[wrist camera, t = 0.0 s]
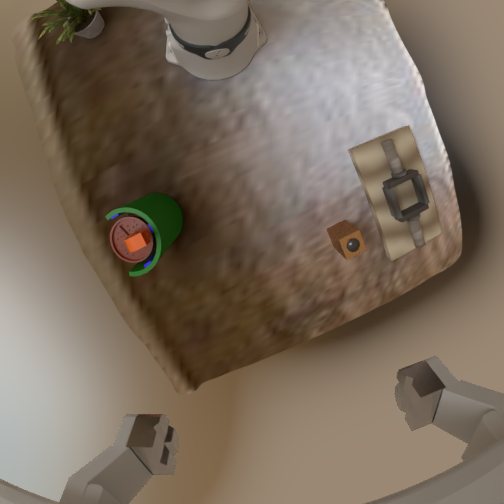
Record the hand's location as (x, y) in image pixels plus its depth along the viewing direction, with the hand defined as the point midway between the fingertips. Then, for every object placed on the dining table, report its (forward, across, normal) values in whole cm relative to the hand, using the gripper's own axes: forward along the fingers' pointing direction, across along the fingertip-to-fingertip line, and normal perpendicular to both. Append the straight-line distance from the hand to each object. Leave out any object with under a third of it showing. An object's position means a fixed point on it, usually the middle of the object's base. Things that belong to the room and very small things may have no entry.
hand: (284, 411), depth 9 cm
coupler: (+48, -16, +9) cm, 51 cm away
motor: (+48, +17, -1) cm, 51 cm away
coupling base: (+48, -30, +3) cm, 57 cm away
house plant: (+48, +25, -46) cm, 71 cm away
